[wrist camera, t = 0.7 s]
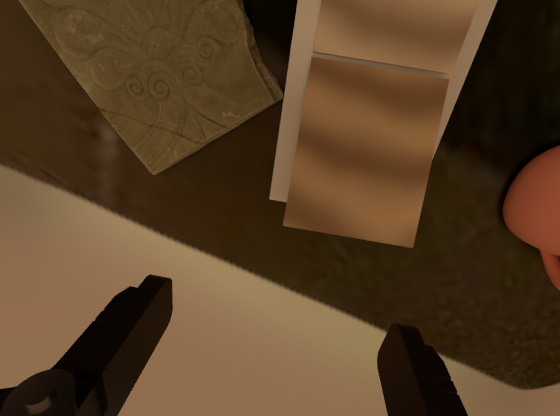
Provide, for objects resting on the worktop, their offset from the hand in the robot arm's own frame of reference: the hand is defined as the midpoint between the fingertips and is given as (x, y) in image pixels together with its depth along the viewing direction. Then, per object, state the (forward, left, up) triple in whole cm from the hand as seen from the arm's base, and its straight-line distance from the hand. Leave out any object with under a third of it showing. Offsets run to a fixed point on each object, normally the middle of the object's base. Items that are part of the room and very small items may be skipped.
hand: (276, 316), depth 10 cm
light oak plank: (-12, +6, -22) cm, 26 cm away
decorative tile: (-8, -14, -25) cm, 29 cm away
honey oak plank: (-1, +6, -19) cm, 20 cm away
